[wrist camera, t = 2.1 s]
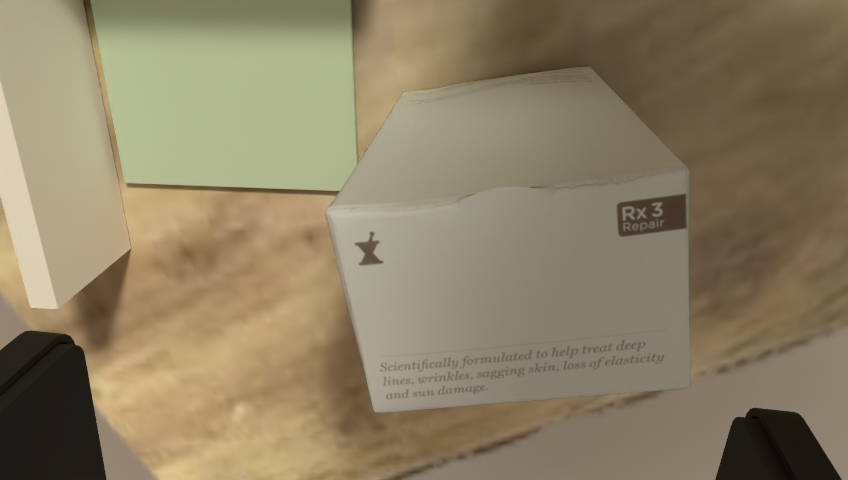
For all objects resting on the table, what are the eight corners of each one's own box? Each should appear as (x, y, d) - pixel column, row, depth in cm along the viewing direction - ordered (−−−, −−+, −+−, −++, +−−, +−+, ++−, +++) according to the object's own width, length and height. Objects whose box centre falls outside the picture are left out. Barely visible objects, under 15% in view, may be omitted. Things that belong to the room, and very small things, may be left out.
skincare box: (421, 214, 31) (355, 428, 18) (399, 81, 29) (302, 212, 15) (611, 194, 30) (696, 410, 16) (603, 53, 27) (697, 169, 14)
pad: (350, -25, 27) (348, -24, 27) (359, 189, 31) (358, 191, 31) (89, -26, 28) (85, -25, 28) (128, 180, 32) (124, 183, 32)
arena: (411, -161, 25) (384, -188, 20) (414, 261, 32) (395, 328, 27) (23, -155, 27) (-101, -178, 21) (107, 247, 34) (30, 307, 28)
